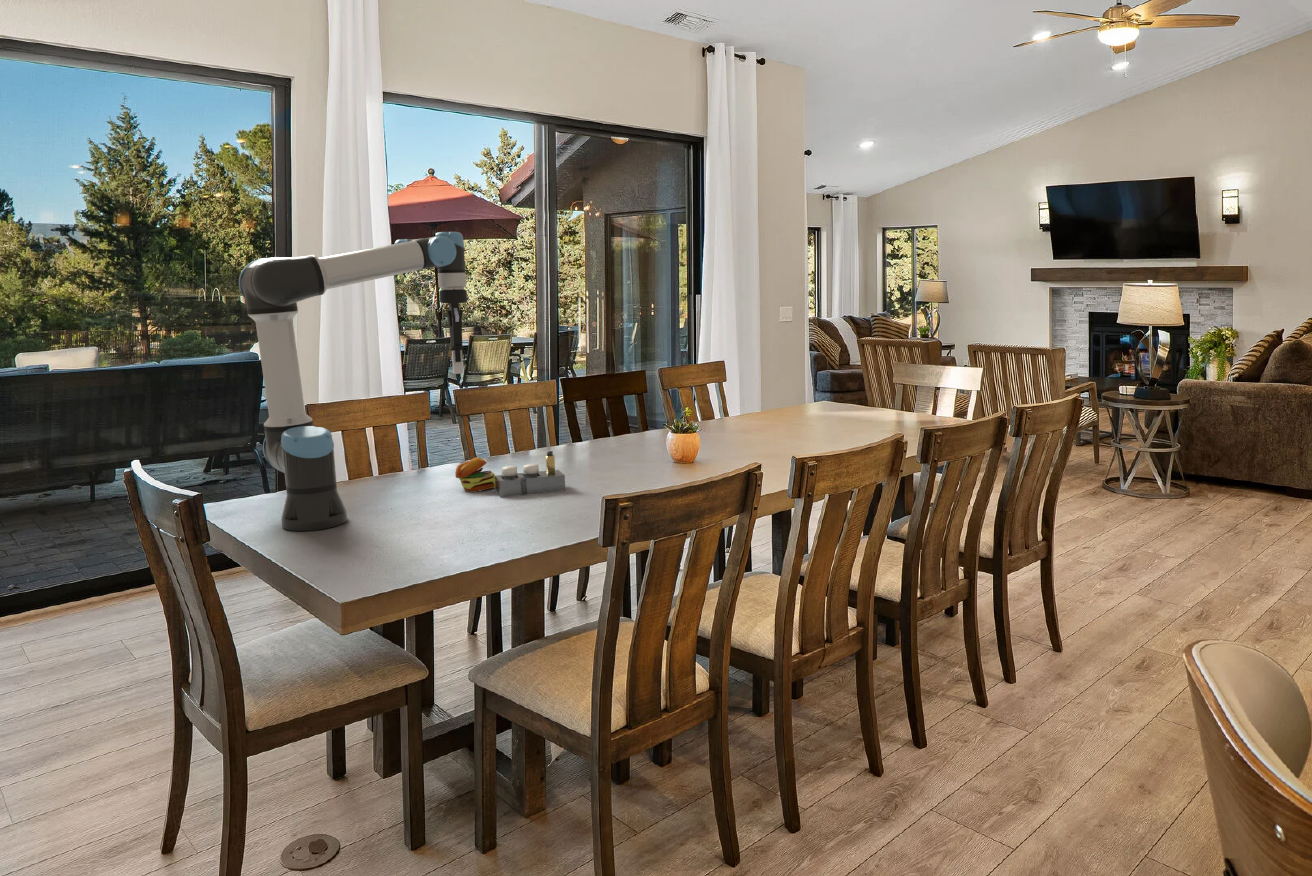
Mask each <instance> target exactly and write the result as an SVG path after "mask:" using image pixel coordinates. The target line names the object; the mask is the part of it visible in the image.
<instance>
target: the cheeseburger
mask: <svg viewBox="0 0 1312 876" xmlns="http://www.w3.org/2000/svg"><path fill="white" fill-rule="evenodd" d="M486 464H487V461H486V460H484V459H483V458H480V457H473V458H472V459H470V460H468V461H464V462H462V463H461V464H458V465H457V466H456V468H455V473H454V474H455V478H456V479H458V480H460V482H461V483H460V484H461V486H462V488H463V490H464V491H466V492H471V493H474V492H481V491H485V490H489V489H495V490H496V487H495V476H496V475H495V473H494V472H492V471H491V470H484V471H483V469H484V466H486Z"/></svg>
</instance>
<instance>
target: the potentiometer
mask: <svg viewBox="0 0 1312 876" xmlns="http://www.w3.org/2000/svg"><path fill="white" fill-rule="evenodd" d="M555 464H556V463H555V455H554V452H553V450H547V451H546V455H545V466H546V467H545V468H546V470H545V471H546V472H547V474H555V470H556V465H555Z"/></svg>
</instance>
